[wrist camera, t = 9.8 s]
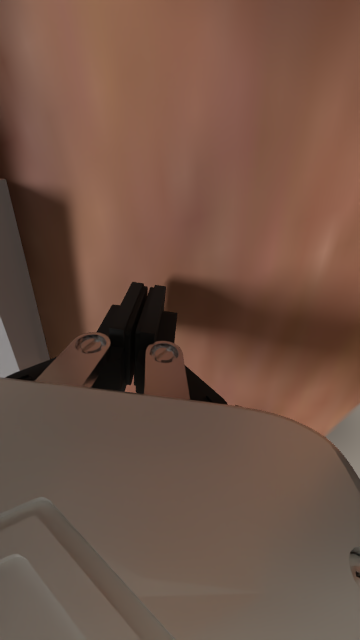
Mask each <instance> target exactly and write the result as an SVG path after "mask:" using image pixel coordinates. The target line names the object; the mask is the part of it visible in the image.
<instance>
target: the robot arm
mask: <svg viewBox="0 0 360 640" xmlns="http://www.w3.org/2000/svg"><path fill="white" fill-rule="evenodd" d="M147 290H148V288H147V287H145V286H144V283H136V282H132V284H131V285H130V287H129V289H128V291H127V293H126V295H125V297H124V299H123V301H122V303H121V305H112V306H111V308H110V310H109V311H108V313H107V315H106V317H105V318H104V320H103V322H102V324H101V325H100V327H99V329H98V331H97V332H89V333H85V334H82V335H80V336H78V337H76V338H75V339H74V340H73V341H72V342H71V343H70V344H69V345H68V346H67V347H66V348H65V349H64V350H63V351H62V352H61V354H60V355H59V356H58V357H55V358H53V359H50V360H47V361H45V362H42V363H39V364H37V365H34V366H31V367H29V368H26V369H23V370H21V371H18V372H15V373H13V374H11V375H9V376H7V377H5V378H2V377H0V640H360V479H359V477H358V475H357V474H356V472H355V471H354V469H353V467H352V466H351V465H350V463H349V462H348V461H347V459H346V458H345V457H344V455H343V454H342V453H341V451H339V449H338V448H337V447H335V445H334V444H332V442H331V441H329V440H328V439H327V438H326V437H324V436H323V435H321V434H320V433H318V432H317V431H315V430H313V429H311V428H310V427H308V426H305V425H303V424H301V423H299V422H297V421H294V420H292V419H290V418H287V417H283V416H280V415H277V414H274V413H270V412H266V411H262V410H257V409H251V408H245V407H241V406H238V405H235V406H233V405H228V404H227V402H226V401H225V400H224V399H223V398H222V397H221V396H220V395H219V394H217V393H216V392H215V391H214V390H213V389H212V388H210V387H209V386H208V385H207V384H206V383H205V382H204V381H202V380H201V379H200V378H199V377H198V376H197V375H196V374H194V373H193V372H192V371H191V370H190V369H189V368H187V367H186V366H185V365H184V359H183V353H182V350H181V349H180V347H179V346H177V345H176V344H174V340H175V331H176V321H177V313H174V312H166V311H164V301H165V291H166V286H159V285H155V287H154V288H153V287H150V290H149V293H148V296H147ZM133 375H134V385H135V386H136V392H137V393H131V392H125V388H126V385H131V383H132V379H133Z"/></svg>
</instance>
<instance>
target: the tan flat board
mask: <svg viewBox="0 0 360 640" xmlns="http://www.w3.org/2000/svg"><path fill="white" fill-rule="evenodd" d="M47 360H50V357H49V353H48V349H47V345H46V341H45V337H44V333H43V329H42V325H41V321H40V317H39V313H38V309H37V304H36V300H35V296H34V292H33V288H32V284H31V280H30V276H29V272H28V268H27V264H26V260H25V255H24V251H23V247H22V243H21V239H20V235H19V231H18V227H17V223H16V219H15V215H14V211H13V207H12V202H11V198H10V194H9V190H8V186H7V182H6V179H1V178H0V377H2V378H5V377H7V376H9V375H11V374H13V373H15V372H18V371H21V370H23V369H26V368H29V367H31V366H34V365H37V364H39V363H42V362H45V361H47Z"/></svg>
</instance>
